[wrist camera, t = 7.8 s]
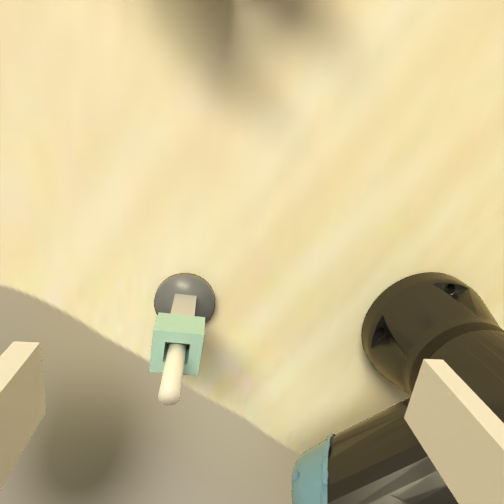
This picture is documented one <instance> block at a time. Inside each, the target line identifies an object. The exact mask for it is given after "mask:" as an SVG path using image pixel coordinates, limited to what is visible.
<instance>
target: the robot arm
mask: <svg viewBox="0 0 504 504" xmlns="http://www.w3.org/2000/svg"><path fill="white" fill-rule="evenodd" d="M362 343H363V347H364V350H365V352H366V354H367V356H368V358H369V359H370V361H371V362H372V364H373V365H374V367H375V368H376V369H377V370H378V371H379V372H380V373H381V374H382V375H383V376H384V377H385V378H387V379H388V380H390V381H391V382H393V383H394V384H396V385H397V386H398V387H400V388H401V389H403V390H404V391H406V392H407V393H409V394H410V395H411V398H409V399H407V400H405V401H403V402H400V403H398V404H396V405H394V406H392V407H390V408H388V409H386V410H385V411H383V412H381V413H379V414H377V415H375V416H373V417H371V418H369V419H367V420H365V421H363V422H361V423H359V424H357V425H355V426H353V427H351V428H349V429H347V430H345V431H343V432H341V433H339V434H337V435H335V434H331V435H329V436H328V437H327V439H326V440H325V441H323V442H321V443H320V444H318V445H316V446H315V447H313V448H311V449H309V450H308V451H306V452H304V453H303V454H302V455H301V456H300V457H299V458H298V460H297V462H296V464H295V467H294V470H293V475H292V502H293V504H504V330H502V329H501V328H500V327H499V325H498V324H497V322H496V320H495V319H494V317H493V316H492V314H491V313H490V311H489V310H488V308H487V307H486V305H485V304H484V302H483V301H482V299H481V298H480V296H479V295H478V294H477V293H476V292H475V291H474V290H473V289H472V288H470V287H469V286H467V285H466V284H464V283H463V282H461V281H460V280H458V279H457V278H455V277H452V276H450V275H447V274H443V273H434V272H429V273H420V274H416V275H412V276H409V277H406V278H404V279H402V280H400V281H398V282H396V283H395V284H393V285H392V286H390V287H389V288H387V289H386V290H385V291H384V292H383V293H382V294H381V295H380V296H379V297H378V298H377V299H376V300H375V301H374V303H373V304H372V306H371V307H370V309H369V311H368V313H367V315H366V317H365V320H364V323H363V328H362ZM45 413H46V402H45V391H44V381H43V370H42V360H41V350H40V343H34V342H13V343H12V344H11V345H10V346H9V348H8V349H7V350H6V351H5V352H4V353H3V354H2V355H1V356H0V490H1V488H2V486H3V485H4V483H5V481H6V480H7V478H8V476H9V474H10V473H11V471H12V469H13V467H14V466H15V464H16V462H17V461H18V459H19V457H20V455H21V454H22V452H23V450H24V449H25V447H26V445H27V444H28V442H29V440H30V438H31V437H32V435H33V433H34V432H35V430H36V428H37V426H38V425H39V423H40V421H41V420H42V418H43V416H44V414H45Z"/></svg>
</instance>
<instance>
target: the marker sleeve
mask: <svg viewBox="0 0 504 504" xmlns="http://www.w3.org/2000/svg"><path fill="white" fill-rule="evenodd" d="M204 330H205V317H198V316H188V315H179V314H169V313H160V312H158V316H157V319H156V322H155V326H154V329H153V338H152V348H151V358H150V369H149V372H160V373H163V371H164V366H165V361H166V356H167V352H168V347H169V343H167V342H172V343H183V344H190V345H187V346H186V354H185V361H184V369H183V374H184V375H197V376H198V373H199V366H200V359H201V353H202V346H203V340H204Z"/></svg>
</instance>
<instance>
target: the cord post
mask: <svg viewBox="0 0 504 504" xmlns="http://www.w3.org/2000/svg"><path fill="white" fill-rule="evenodd" d="M154 308H155V311H156V314H157V315H158V312H160V313H169V314H179V315H188V316H198V317H205V323H206V322H207V321H208V320H209V319H210V317H211V316H212V314H213V312H214V308H215V296H214V292H213V289H212V288H211V286H210V285H209V283H208V282H207V281H206V280H204V279H203V278H201V277H199V276H197V275H194V274H190V273H180V274H175V275H173V276H170V277H168V278H167V279H166V280H164V281H163V282H162V283H161V284H160V286H159V288H158V289H157V292H156V295H155V299H154ZM167 343H169V347H168V352H167V356H166V361H165V366H164V371H163V375H162V380H161V385H160V390H159V395H158V399H159V401H160V402H161V403H162V404H164V405H174V404H176V403H177V402H178V401H179V399H180V391H181V384H182V377H183V369H184V361H185V354H186V346H187V345H189V344H183V343H172V342H167Z"/></svg>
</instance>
